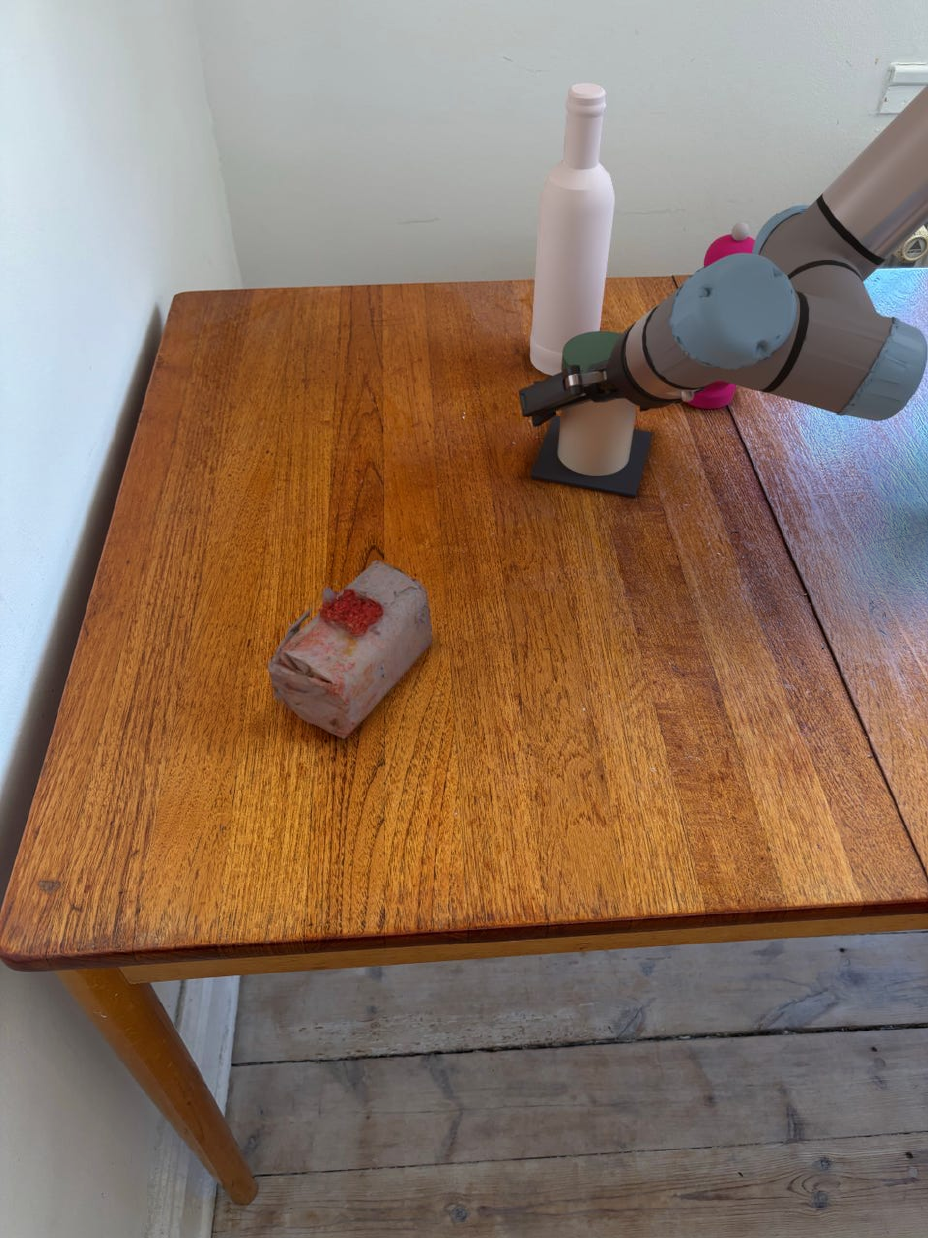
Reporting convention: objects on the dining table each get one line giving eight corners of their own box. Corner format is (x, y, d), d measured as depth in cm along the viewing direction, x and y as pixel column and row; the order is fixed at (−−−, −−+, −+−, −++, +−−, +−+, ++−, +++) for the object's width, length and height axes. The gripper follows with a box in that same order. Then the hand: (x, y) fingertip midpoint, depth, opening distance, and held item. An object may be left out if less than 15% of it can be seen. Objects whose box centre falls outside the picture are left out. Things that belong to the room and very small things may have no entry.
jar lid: (653, 354, 101) (656, 338, 99) (640, 401, 95) (642, 384, 94) (571, 340, 102) (572, 325, 101) (552, 386, 97) (554, 369, 96)
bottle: (515, 358, 119) (528, 86, 97) (561, 334, 123) (584, 67, 101) (563, 386, 115) (589, 111, 93) (610, 361, 119) (645, 90, 97)
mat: (652, 435, 109) (653, 432, 109) (635, 498, 102) (635, 495, 102) (553, 417, 111) (553, 414, 111) (529, 478, 104) (529, 474, 104)
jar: (635, 438, 108) (650, 344, 100) (622, 482, 103) (637, 386, 95) (565, 426, 109) (575, 332, 101) (550, 468, 104) (558, 372, 96)
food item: (346, 757, 80) (336, 677, 73) (269, 713, 83) (251, 632, 76) (441, 649, 88) (440, 567, 81) (368, 612, 91) (360, 530, 84)
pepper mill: (679, 412, 112) (713, 240, 97) (668, 375, 117) (699, 206, 102) (743, 411, 112) (787, 239, 98) (729, 375, 117) (769, 206, 103)
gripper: (537, 419, 82) (485, 457, 103) (802, 382, 86) (699, 426, 107) (522, 327, 81) (473, 384, 103) (789, 294, 85) (688, 355, 107)
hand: (588, 405), depth 105 cm, fingers open, 11 cm apart
